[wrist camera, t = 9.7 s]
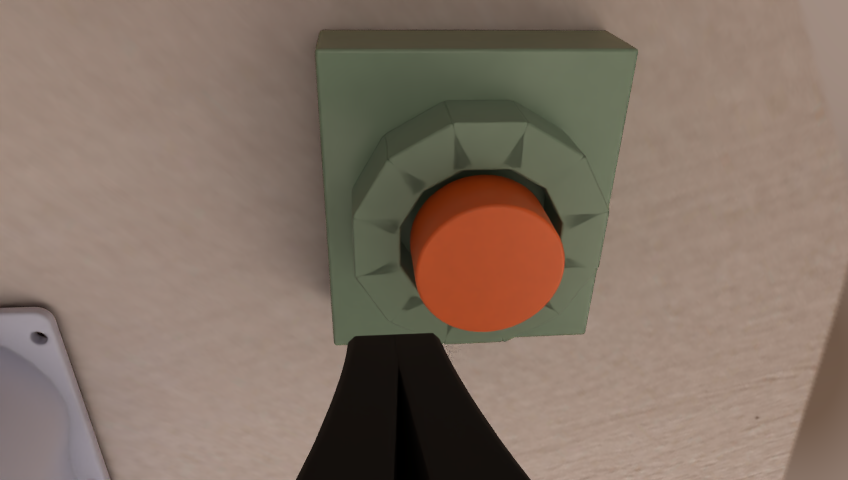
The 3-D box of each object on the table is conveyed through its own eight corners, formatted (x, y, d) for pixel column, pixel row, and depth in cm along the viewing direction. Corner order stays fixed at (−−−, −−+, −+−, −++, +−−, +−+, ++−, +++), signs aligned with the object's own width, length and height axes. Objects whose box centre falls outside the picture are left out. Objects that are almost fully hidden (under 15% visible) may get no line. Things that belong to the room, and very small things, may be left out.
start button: (538, 291, 17) (555, 330, 16) (408, 296, 17) (414, 336, 15) (554, 171, 15) (576, 203, 14) (410, 174, 15) (416, 206, 14)
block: (564, 294, 22) (603, 371, 18) (335, 303, 21) (332, 385, 18) (607, 30, 17) (670, 66, 14) (319, 29, 17) (309, 67, 13)
